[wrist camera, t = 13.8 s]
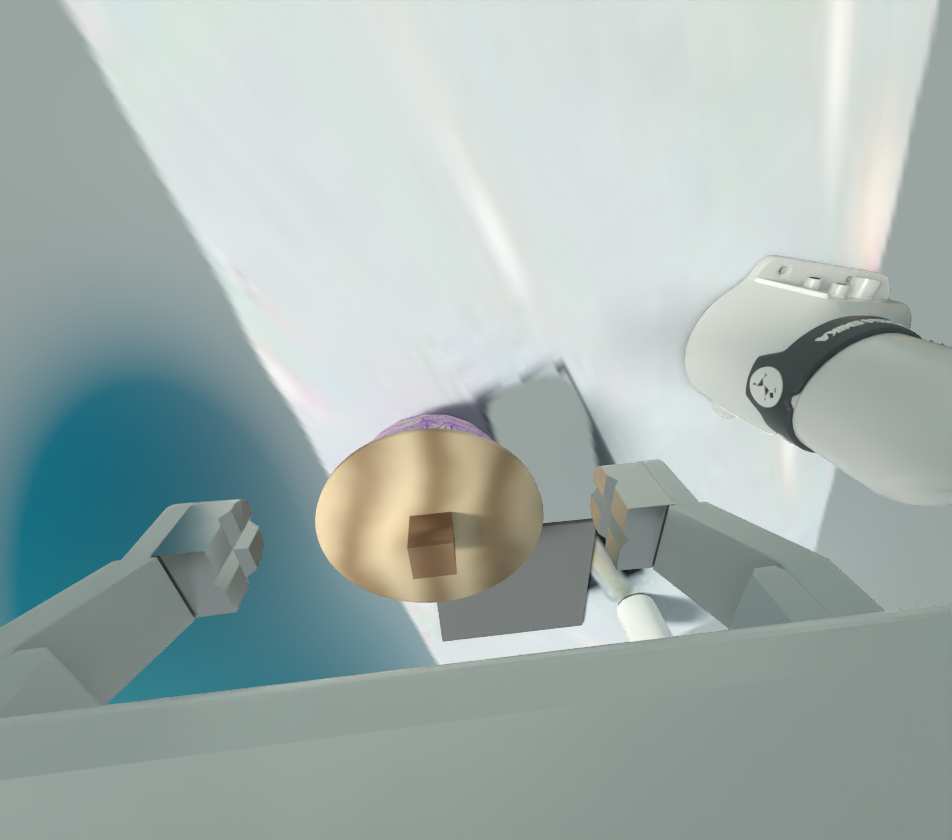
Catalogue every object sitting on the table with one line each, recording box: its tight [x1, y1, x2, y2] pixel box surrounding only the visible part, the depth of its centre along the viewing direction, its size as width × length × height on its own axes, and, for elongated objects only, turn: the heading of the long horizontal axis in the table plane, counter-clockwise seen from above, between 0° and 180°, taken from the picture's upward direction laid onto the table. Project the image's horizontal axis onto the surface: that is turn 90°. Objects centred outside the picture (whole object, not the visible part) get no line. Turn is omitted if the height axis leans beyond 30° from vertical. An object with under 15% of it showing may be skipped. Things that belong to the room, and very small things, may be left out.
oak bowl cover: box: [315, 428, 543, 603], centre depth 38 cm, size 22×22×5 cm
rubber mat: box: [437, 519, 596, 641], centre depth 62 cm, size 24×24×1 cm
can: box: [617, 594, 673, 642], centre depth 63 cm, size 6×6×12 cm
